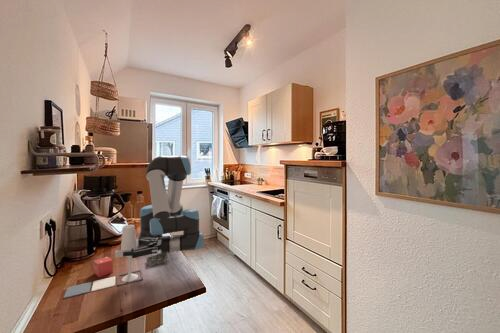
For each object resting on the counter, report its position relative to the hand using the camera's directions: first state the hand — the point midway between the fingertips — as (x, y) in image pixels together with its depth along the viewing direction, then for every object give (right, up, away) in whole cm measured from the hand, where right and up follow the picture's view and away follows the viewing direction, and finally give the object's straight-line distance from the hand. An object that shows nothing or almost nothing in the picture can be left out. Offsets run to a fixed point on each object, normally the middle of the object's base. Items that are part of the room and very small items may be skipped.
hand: (119, 248), depth 101 cm
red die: (-11, -14, +7) cm, 19 cm away
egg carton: (+10, -14, +18) cm, 24 cm away
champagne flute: (+4, -14, +1) cm, 15 cm away
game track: (-5, -14, -3) cm, 15 cm away
